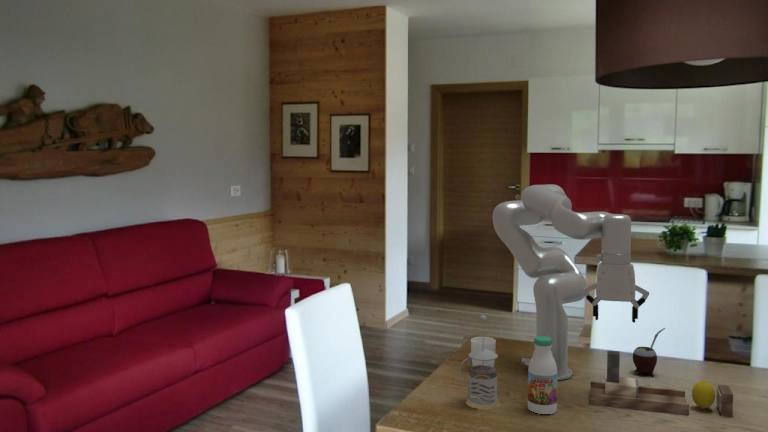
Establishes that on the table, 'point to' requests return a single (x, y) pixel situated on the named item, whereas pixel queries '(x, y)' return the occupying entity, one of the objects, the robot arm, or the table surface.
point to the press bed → (642, 399)
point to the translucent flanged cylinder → (478, 344)
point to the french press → (482, 370)
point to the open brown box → (724, 400)
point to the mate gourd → (645, 359)
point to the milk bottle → (542, 378)
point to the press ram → (618, 379)
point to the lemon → (703, 394)
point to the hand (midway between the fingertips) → (615, 320)
